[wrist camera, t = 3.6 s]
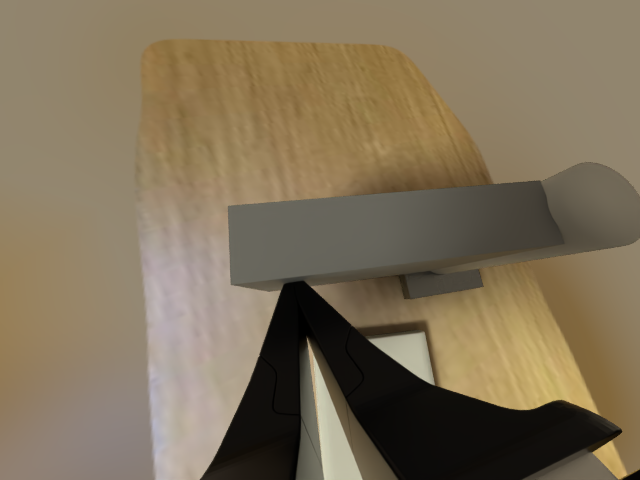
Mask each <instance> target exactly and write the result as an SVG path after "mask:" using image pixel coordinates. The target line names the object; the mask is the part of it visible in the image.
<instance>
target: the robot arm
mask: <svg viewBox="0 0 640 480" xmlns="http://www.w3.org/2000/svg"><path fill="white" fill-rule="evenodd" d="M306 335H307V336H306ZM307 338H308V341H309V343H310V346H311V349H312V351H313V354H314V356H315V359H316V361H317V364H318V366H319V369H320V372H321V374H322V377H323V379H324V382H325V384H326V387H327V389H328V392H329V395H330V397H331V400H332V402H333V405H334V407H335V410H336V413H337V415H338V418H339V420H340V423H341V425H342V428H343V430H344V433H345V436H346V438H347V441H348V443H349V446H350V448H351V451H352V453H353V456H354V459H355V461H356V464H357V466H358V469H359V471H360V474H361V477H362V479H363V480H618V479H617V478H616V477H615V476H614V475H613V474H612V473H611V471H610V470H609V469H608V468H607V467H606V466H605V465H604V464H603V463H602V462H601V461H600V460H599V459H598V458H597V457H596V456H595V455H594V454H593V453H592V452H594V451H595V450H597V449H598V448H600V447H601V446H603V445H605V444H606V443H608V442H609V441H611V440H612V439H614V438H615V437H617V436H618V435H620V434H621V433H622V430H621V429H620V428H619V427H618V426H616V425H615V424H613V423H612V422H610V421H608V420H607V419H605V418H603V417H601V416H600V415H598V414H595V413H593V412H591V411H589V410H587V409H584V408H581V407H579V406H577V405H574V404H572V403H569V402H566V401H564V400H556V401H552V402H550V403H547V404H545V405H543V406H540V407H538V408H535V409H531V410H515V409H508V408H504V407H500V406H497V405H494V404H491V403H488V402H485V401H482V400H478V399H475V398H472V397H469V396H466V395H463V394H459V393H456V392H453V391H450V390H447V389H444V388H441V387H438V386H435V385H433V384H430V383H428V382H426V381H424V380H423V379H421V378H419V377H418V376H416V375H415V374H413V373H412V372H411V371H409V370H408V369H407V368H405V367H404V366H402V365H401V364H400V363H398V362H397V361H396V360H394V359H393V358H391V357H390V356H389V355H387V354H386V353H385V352H383V351H382V350H380V349H379V348H378V347H377V346H375V345H374V344H373V343H371V342H370V341H369V340H368V339H367V338H365V337H364V336H363V335H362V334H361V333H360V332H359V331H358V330H356V329H355V328H354V327H353V326H352V325H351V324H350V323H349V322H348V321H347V320H346V319H345V318H343V317H342V316H341V315H340V314H339V313H338V312H337V311H336V310H335V309H334V308H333V307H332V306H331V305H330V304H328V303H327V302H326V301H325V300H324V299H323V298H322V297H321V296H320V295H319V294H318V293H317V292H316V291H315V290H313V289H312V288H311V287H310V286H309V285H308V284H307V283H306V282H305V281H296V282H289V283H285V284H284V285H283V287H282V290H281V293H280V296H279V298H278V301H277V304H276V307H275V310H274V313H273V316H272V319H271V322H270V325H269V328H268V331H267V334H266V337H265V340H264V342H263V345H262V348H261V351H260V354H259V355H260V356H259V357H258V360H257V363H256V366H255V368H254V371H253V374H252V376H251V379H250V382H249V384H248V386H247V389H246V391H245V393H244V396H243V398H242V400H241V402H240V404H239V407H238V409H237V411H236V413H235V415H234V417H233V419H232V422H231V424H230V426H229V428H228V430H227V432H226V435H225V437H224V439H223V441H222V443H221V445H220V447H219V449H218V451H217V453H216V455H215V457H214V459H213V461H212V462H211V464H210V466H209V467H208V469H207V470H206V472H205V473H204V475H203V476H202V477H201V479H200V480H324V474H323V470H322V469H323V466H322V458H321V450H320V442H319V433H318V425H317V417H316V409H315V401H314V392H313V384H312V376H311V368H310V360H309V351H308V343H307ZM619 480H640V469H638V470H636V471H634V472H632V473H631V474H629V475H627V476H625V477H623V478H621V479H619Z"/></svg>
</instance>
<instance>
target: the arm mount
mask: <svg viewBox="0 0 640 480" xmlns="http://www.w3.org/2000/svg"><path fill="white" fill-rule="evenodd" d="M399 277H400V282H401V286H402V290H403V294H404V299H415V298H421V297H427V296H432V295H438V294H444V293H450V292H456V291H462V290H468V289H474V288H479V287H484V286H483V283H482V280H481V277H480V274H479V270H478V269H474V270H467V271H461V272H454V273H448V274H436V273H433V272H431V271H426V272H418V273H411V274H403V275H399Z"/></svg>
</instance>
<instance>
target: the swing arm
mask: <svg viewBox="0 0 640 480" xmlns="http://www.w3.org/2000/svg"><path fill="white" fill-rule="evenodd" d="M228 224H229V250H230V277H231V285H235V286H240V287H246V288H251V289H257V290H262V291H268V292H270V291H278V290H282V287H283V285H284V284H285V283H289V282H296V281H305V282H306V283H307V284H308V285H309V286H317V285H325V284H332V283H340V282H348V281H356V280H364V279H372V278H379V277H387V276H395V275H403V274H411V273H418V272H426V271H431V272H433V273H436V274H448V273H454V272H461V271H467V270H474V269H480V268H486V267H493V266H499V265H505V264H512V263H518V262H525V261H531V260H537V259H544V258H550V257H556V256H563V255H569V254H576V253H582V252H589V251H595V250H601V249H608V248H614V247H621V246H626V245H629V244H632V243H634V242H635V241H637V240H638V239H639V238H640V197H639V195H638V193H637V192H636V190H635V189H634V187H633V186H632V185H631V184H630V183H629V182H628V181H627V180H626V179H625V178H624V177H623V176H622V175H620V174H619V173H618V172H616V171H615V170H613V169H611V168H609V167H607V166H604V165H601V164H598V163H591V162H588V163H587V162H586V163H580V164H577V165H575V166H573V167H571V168H569V169H566V170H565V171H562V172H560V173H558V174H556V175H554V176H552V177H550V178H548V179H545V180H543V181H528V182H516V183H503V184H491V185H479V186H467V187H454V188H442V189H430V190H417V191H405V192H393V193H380V194H368V195H356V196H344V197H331V198H319V199H307V200H294V201H282V202H270V203H258V204H245V205H233V206H228Z"/></svg>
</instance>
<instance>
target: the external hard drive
mask: <svg viewBox="0 0 640 480" xmlns="http://www.w3.org/2000/svg"><path fill="white" fill-rule="evenodd" d="M365 338H367V339H368V340H369V341H370V342H371V343H373V344H374V345H375V346H377V347H378V348H379V349H380V350H382V351H383V352H385V353H386V354H387V355H389V356H390V357H391V358H393V359H394V360H396V361H397V362H398V363H400V364H401V365H402V366H404V367H405V368H407V369H408V370H409V371H411V372H412V373H413V374H415V375H416V376H418V377H419V378H421V379H423V380H424V381H426V382H428V383H430V384H433V385H435V383H434V378H433V373H432V367H431V362H430V357H429V352H428V347H427V341H426V336H425V332H424V331H421V330H413V331H405V332H397V333H389V334H381V335H373V336H365ZM313 361H314V373H315V384H316V396H317V409H318V421H319V432H320V445H321V457H322V466H323V474H324V480H363V479H362V477H361V474H360V471H359V469H358V466H357V464H356V461H355V459H354V456H353V453H352V451H351V448H350V446H349V443H348V441H347V438H346V436H345V433H344V430H343V428H342V425H341V423H340V420H339V418H338V415H337V413H336V410H335V407H334V405H333V402H332V400H331V397H330V395H329V392H328V389H327V387H326V384H325V382H324V379H323V377H322V374H321V372H320V369H319V366H318V364H317V361H316V359H315V356H314V354H313Z"/></svg>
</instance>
